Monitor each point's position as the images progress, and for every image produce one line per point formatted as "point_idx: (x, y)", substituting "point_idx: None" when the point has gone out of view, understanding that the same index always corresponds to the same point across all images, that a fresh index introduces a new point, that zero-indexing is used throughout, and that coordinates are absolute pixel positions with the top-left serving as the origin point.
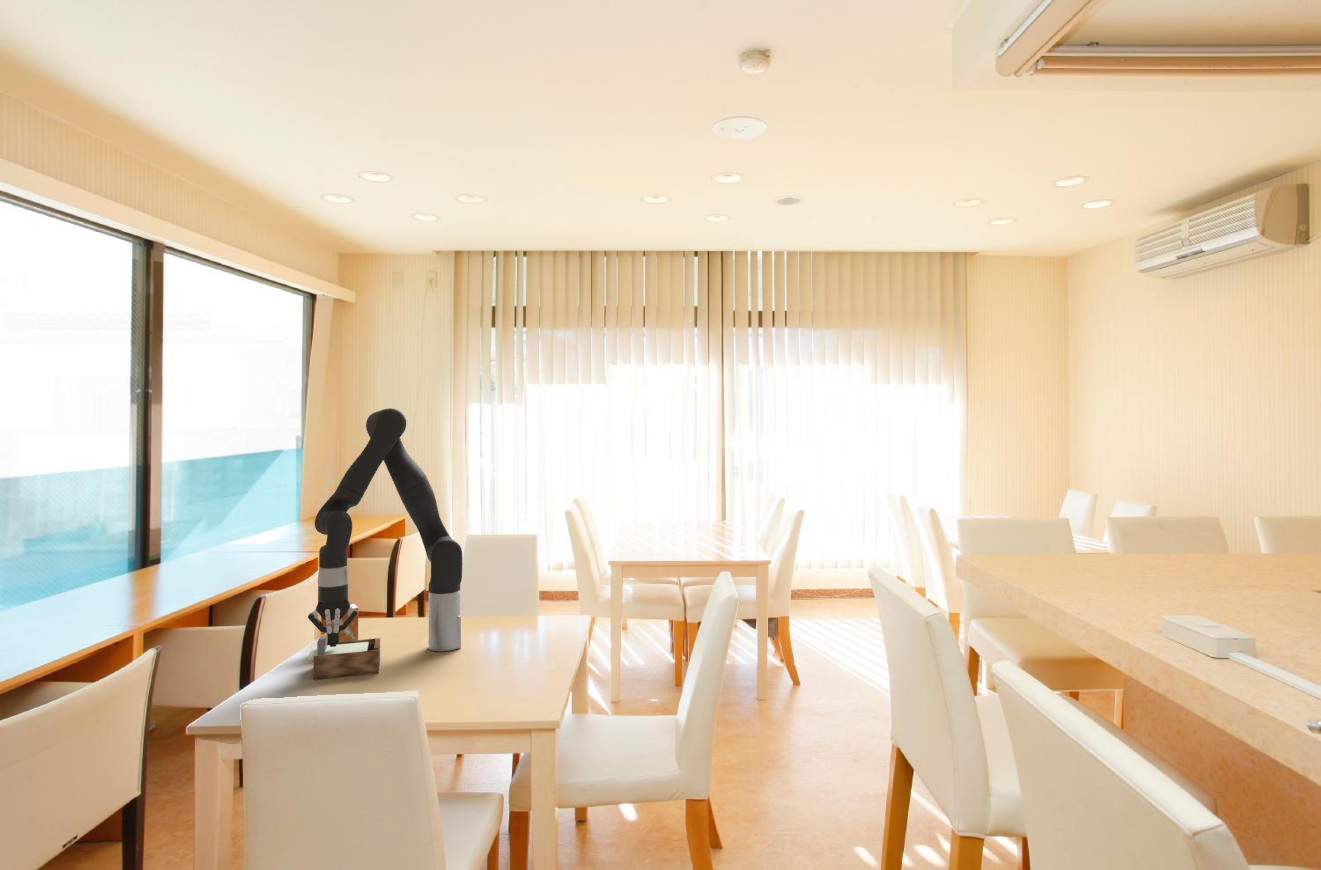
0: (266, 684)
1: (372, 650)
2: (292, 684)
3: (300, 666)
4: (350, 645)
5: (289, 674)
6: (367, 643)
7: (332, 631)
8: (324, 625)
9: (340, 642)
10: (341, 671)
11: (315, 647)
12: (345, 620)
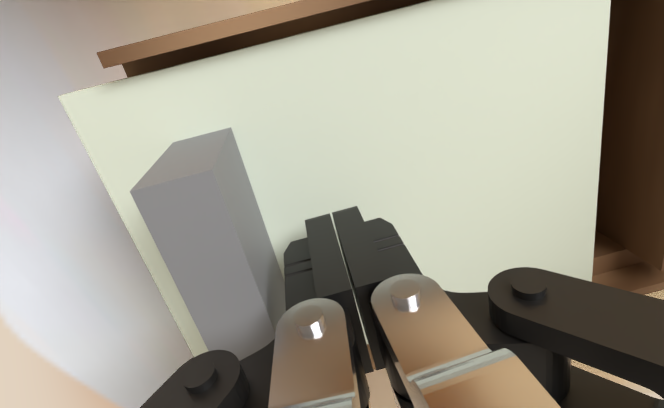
0: (41, 349)
1: (640, 289)
2: (185, 348)
3: (24, 45)
4: (449, 84)
5: (62, 211)
6: (601, 28)
7: (356, 341)
8: (219, 403)
9: (334, 7)
10: None
11: (112, 125)
12: (625, 365)
